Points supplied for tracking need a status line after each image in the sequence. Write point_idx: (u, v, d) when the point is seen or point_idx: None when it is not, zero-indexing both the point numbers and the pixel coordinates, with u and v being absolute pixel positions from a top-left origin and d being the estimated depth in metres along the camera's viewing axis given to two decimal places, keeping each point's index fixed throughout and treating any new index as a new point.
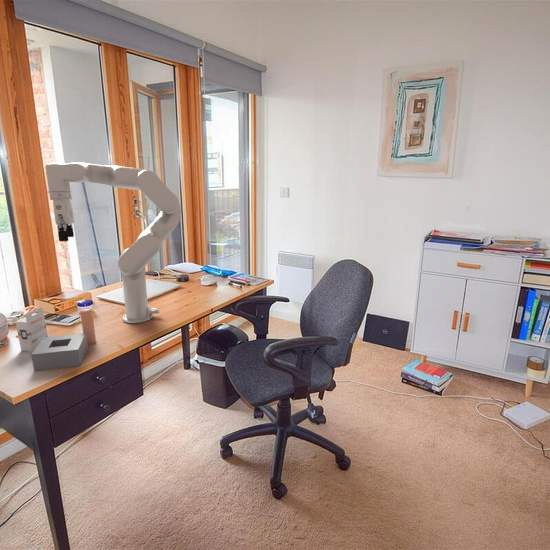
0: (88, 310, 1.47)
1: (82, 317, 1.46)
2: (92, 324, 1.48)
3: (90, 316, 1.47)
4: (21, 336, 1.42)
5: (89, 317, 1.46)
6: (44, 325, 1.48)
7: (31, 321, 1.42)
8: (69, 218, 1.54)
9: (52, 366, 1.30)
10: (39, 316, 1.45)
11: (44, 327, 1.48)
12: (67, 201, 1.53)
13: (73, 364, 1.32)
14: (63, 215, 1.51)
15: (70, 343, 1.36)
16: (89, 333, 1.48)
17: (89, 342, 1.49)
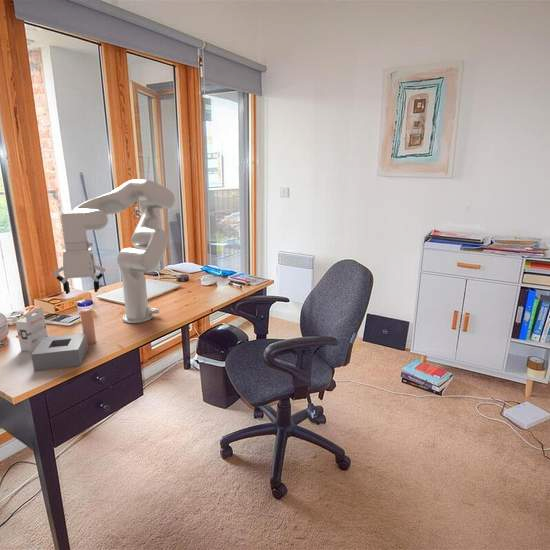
0: (88, 310, 1.47)
1: (82, 317, 1.46)
2: (92, 324, 1.48)
3: (90, 316, 1.47)
4: (21, 336, 1.42)
5: (88, 317, 1.46)
6: (44, 325, 1.48)
7: (31, 321, 1.42)
8: None
9: (52, 366, 1.30)
10: (39, 316, 1.45)
11: (44, 327, 1.48)
12: None
13: (73, 364, 1.32)
14: (94, 264, 1.45)
15: (70, 343, 1.36)
16: (89, 333, 1.48)
17: (89, 342, 1.49)
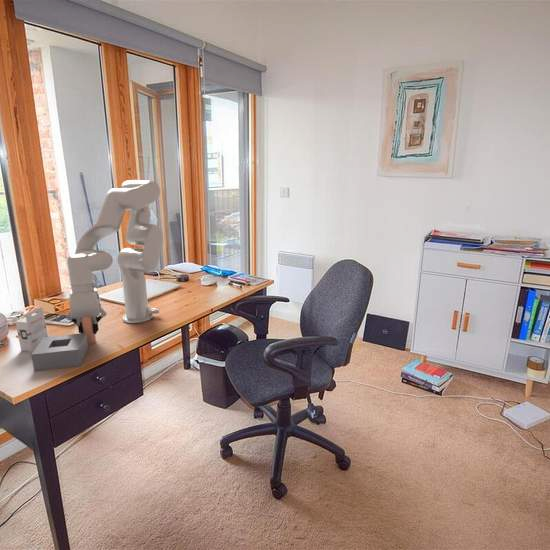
0: None
1: None
2: (92, 324, 1.48)
3: None
4: (21, 336, 1.42)
5: (89, 317, 1.46)
6: (44, 326, 1.48)
7: (31, 321, 1.42)
8: None
9: (52, 366, 1.30)
10: (39, 316, 1.45)
11: (44, 327, 1.48)
12: None
13: (73, 364, 1.32)
14: (100, 303, 1.49)
15: (70, 343, 1.36)
16: (89, 333, 1.48)
17: (89, 342, 1.48)
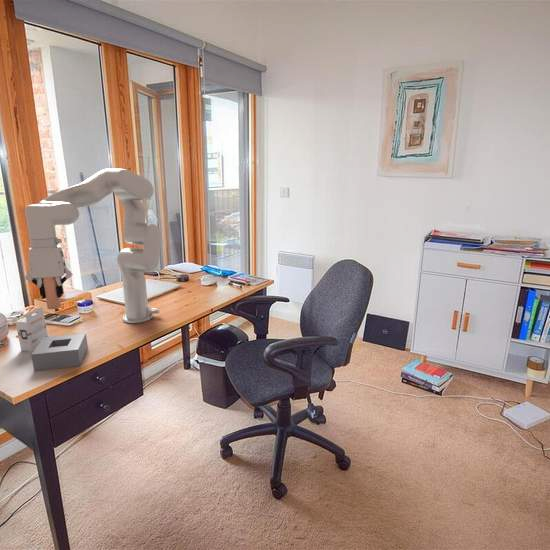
0: None
1: None
2: (55, 286, 1.30)
3: None
4: (21, 336, 1.42)
5: (51, 277, 1.28)
6: (44, 325, 1.48)
7: (31, 321, 1.42)
8: None
9: (52, 366, 1.30)
10: (39, 316, 1.45)
11: (44, 327, 1.48)
12: None
13: (73, 364, 1.32)
14: (65, 262, 1.31)
15: (70, 343, 1.36)
16: (52, 296, 1.30)
17: (52, 306, 1.30)
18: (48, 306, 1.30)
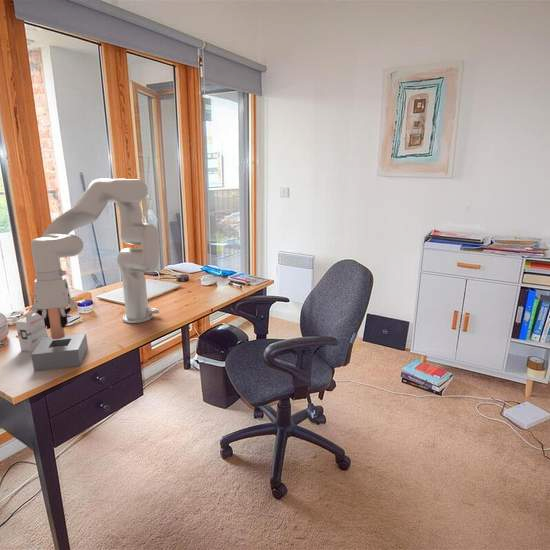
0: None
1: None
2: (60, 316, 1.33)
3: None
4: (21, 336, 1.42)
5: (56, 308, 1.31)
6: (44, 326, 1.48)
7: (31, 321, 1.42)
8: None
9: (52, 366, 1.30)
10: (39, 316, 1.45)
11: (44, 327, 1.48)
12: None
13: (73, 364, 1.32)
14: (69, 293, 1.34)
15: (70, 343, 1.36)
16: (56, 326, 1.32)
17: (56, 336, 1.33)
18: (52, 336, 1.33)
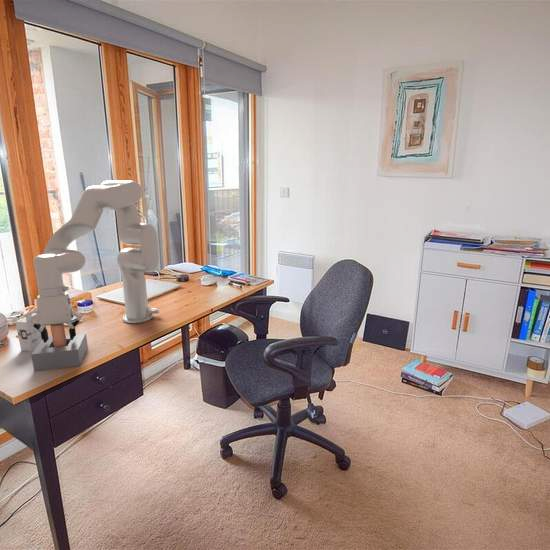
0: (59, 324, 1.34)
1: (52, 332, 1.33)
2: (64, 339, 1.35)
3: (61, 331, 1.34)
4: (21, 336, 1.42)
5: (60, 331, 1.33)
6: None
7: None
8: None
9: (52, 366, 1.30)
10: None
11: None
12: None
13: (73, 364, 1.32)
14: (72, 308, 1.35)
15: (70, 343, 1.36)
16: None
17: None
18: None
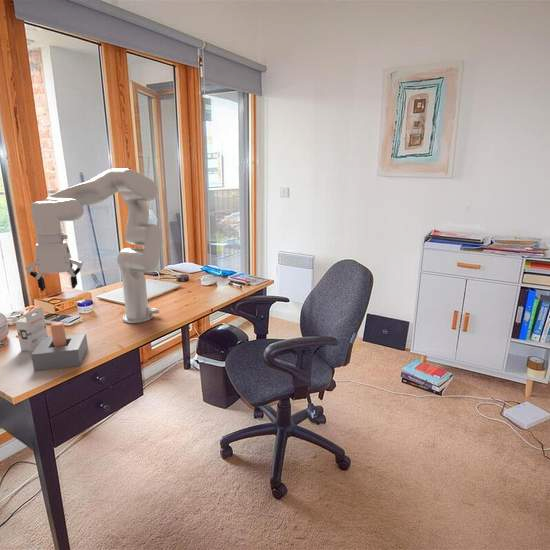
0: (59, 324, 1.34)
1: (53, 332, 1.33)
2: (64, 339, 1.35)
3: (61, 331, 1.34)
4: (21, 336, 1.42)
5: (60, 331, 1.33)
6: (44, 326, 1.48)
7: (31, 322, 1.42)
8: None
9: (52, 366, 1.30)
10: (39, 316, 1.45)
11: (44, 327, 1.48)
12: None
13: (73, 364, 1.32)
14: (71, 258, 1.34)
15: (70, 343, 1.36)
16: None
17: None
18: None
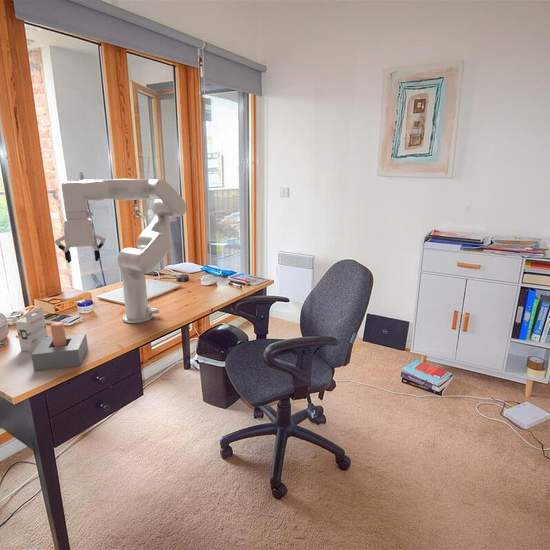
0: (59, 324, 1.34)
1: (53, 332, 1.33)
2: (64, 339, 1.35)
3: (61, 331, 1.34)
4: (21, 336, 1.42)
5: (60, 331, 1.33)
6: (44, 326, 1.48)
7: (31, 321, 1.42)
8: None
9: (52, 366, 1.30)
10: (39, 316, 1.45)
11: (44, 327, 1.48)
12: None
13: (73, 364, 1.32)
14: None
15: (70, 343, 1.36)
16: None
17: None
18: None
